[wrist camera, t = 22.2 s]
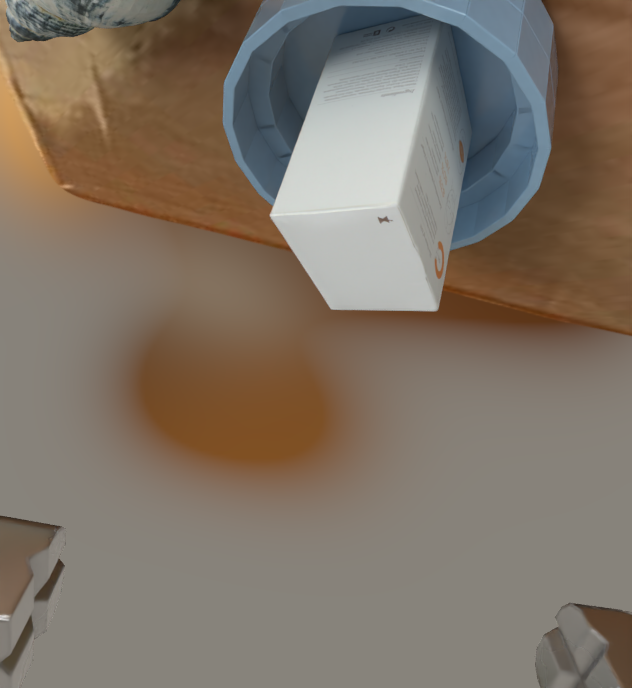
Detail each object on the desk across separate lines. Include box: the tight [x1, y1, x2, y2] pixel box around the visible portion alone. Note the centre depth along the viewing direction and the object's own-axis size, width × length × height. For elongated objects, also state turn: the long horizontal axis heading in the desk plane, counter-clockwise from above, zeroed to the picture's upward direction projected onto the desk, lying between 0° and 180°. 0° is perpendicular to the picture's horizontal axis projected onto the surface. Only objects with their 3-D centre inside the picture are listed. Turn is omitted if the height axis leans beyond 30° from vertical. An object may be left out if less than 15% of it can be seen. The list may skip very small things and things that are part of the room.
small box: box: [270, 15, 472, 311], centre depth 29 cm, size 8×6×13 cm
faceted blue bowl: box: [223, 0, 558, 250], centre depth 31 cm, size 17×17×6 cm
